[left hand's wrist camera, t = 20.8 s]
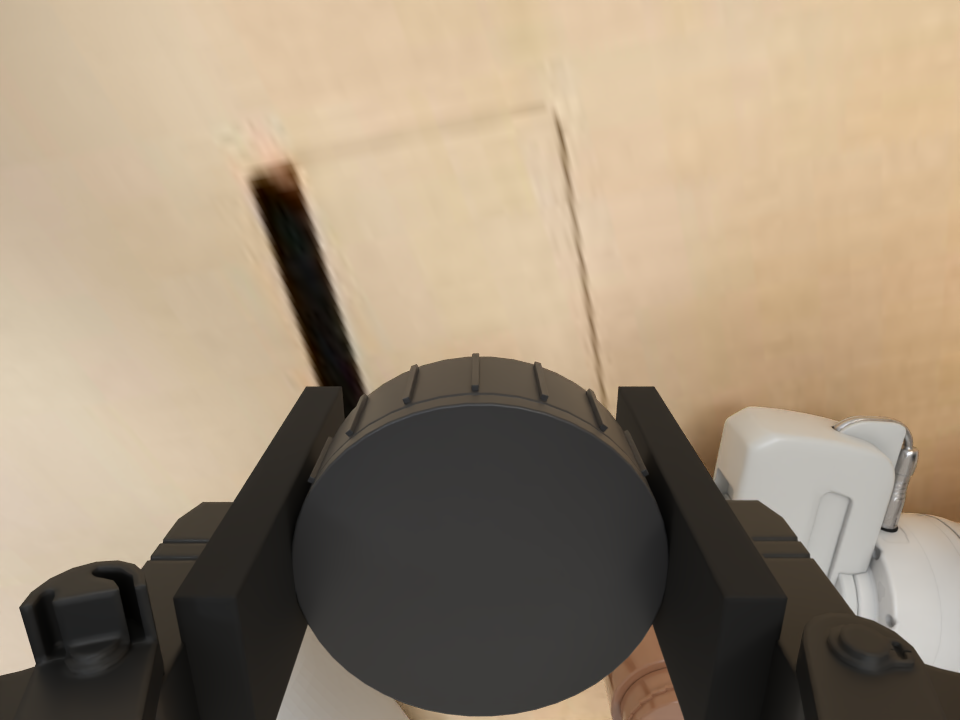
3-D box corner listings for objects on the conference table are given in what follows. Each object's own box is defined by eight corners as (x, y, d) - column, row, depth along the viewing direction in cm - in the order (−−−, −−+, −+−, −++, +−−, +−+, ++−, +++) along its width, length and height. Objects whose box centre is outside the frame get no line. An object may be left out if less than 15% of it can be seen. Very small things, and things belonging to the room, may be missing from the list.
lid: (661, 608, 13) (692, 690, 11) (362, 656, 13) (343, 742, 12) (624, 322, 11) (653, 365, 9) (272, 389, 11) (232, 442, 10)
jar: (561, 491, 40) (609, 706, 26) (646, 474, 40) (744, 682, 25) (576, 560, 42) (629, 797, 28) (658, 544, 42) (754, 777, 27)
